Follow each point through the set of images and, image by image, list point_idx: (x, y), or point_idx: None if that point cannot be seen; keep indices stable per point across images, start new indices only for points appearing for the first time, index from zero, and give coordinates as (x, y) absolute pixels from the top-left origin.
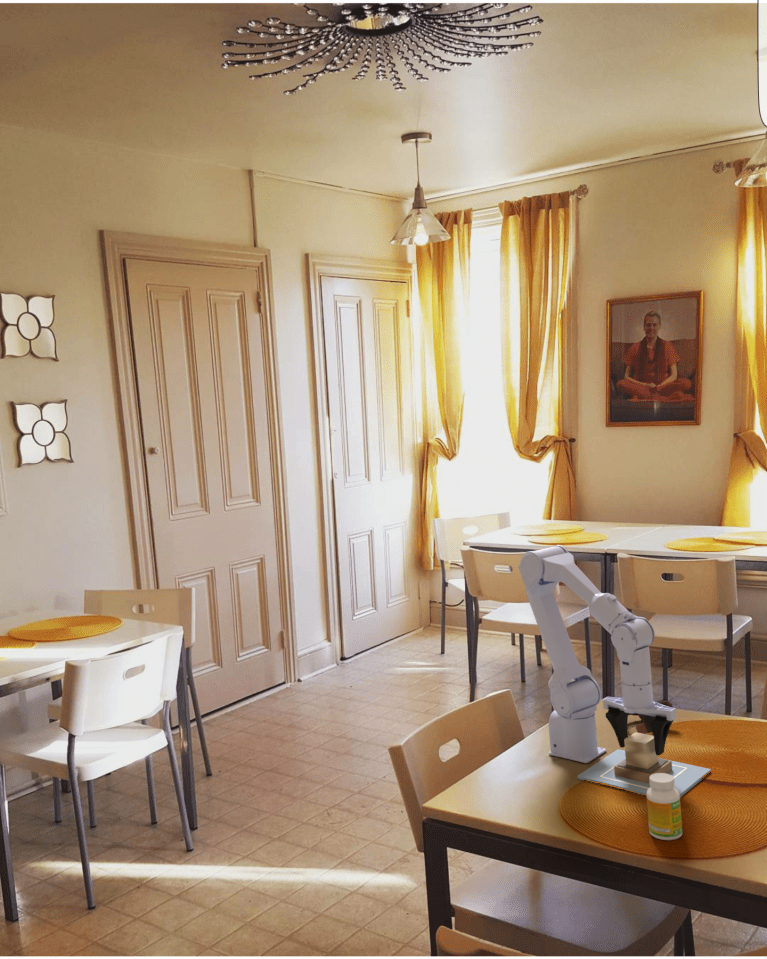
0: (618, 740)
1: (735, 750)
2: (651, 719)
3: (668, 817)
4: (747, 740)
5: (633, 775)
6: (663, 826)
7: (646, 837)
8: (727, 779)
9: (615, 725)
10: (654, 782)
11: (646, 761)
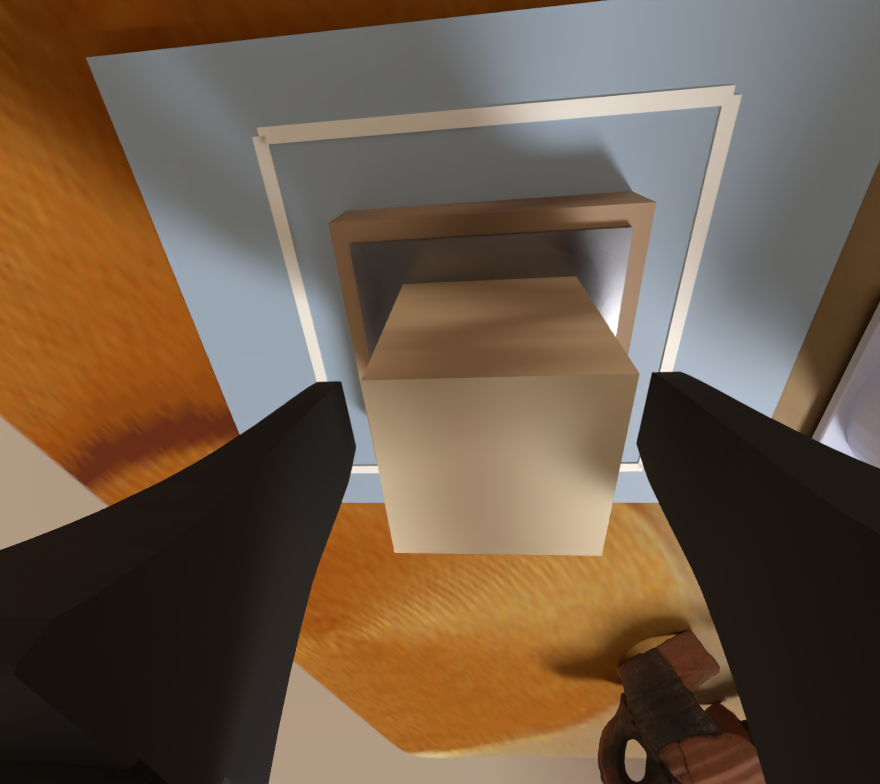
0: (719, 394)
1: (336, 637)
2: (664, 712)
3: None
4: (354, 685)
5: (482, 207)
6: None
7: None
8: (183, 468)
9: (876, 502)
10: None
11: (397, 305)
